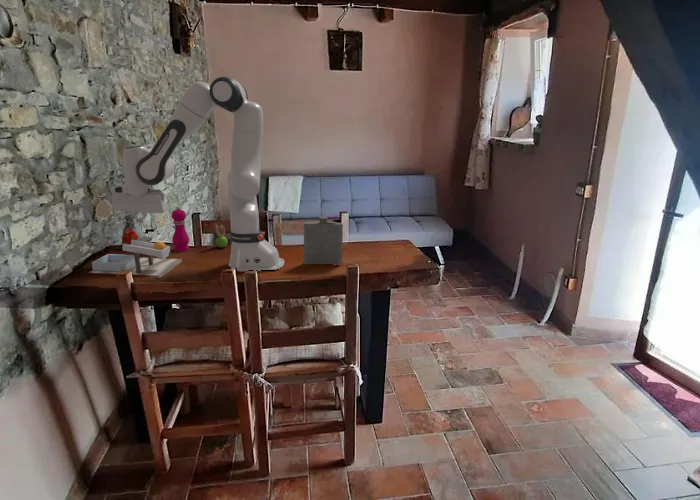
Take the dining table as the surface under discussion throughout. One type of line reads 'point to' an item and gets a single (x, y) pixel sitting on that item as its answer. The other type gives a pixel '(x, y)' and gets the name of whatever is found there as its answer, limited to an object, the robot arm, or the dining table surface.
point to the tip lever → (146, 248)
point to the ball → (159, 245)
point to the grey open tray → (113, 263)
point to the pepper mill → (180, 231)
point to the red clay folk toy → (129, 235)
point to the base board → (149, 266)
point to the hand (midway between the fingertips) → (140, 222)
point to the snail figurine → (221, 236)
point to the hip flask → (323, 242)
